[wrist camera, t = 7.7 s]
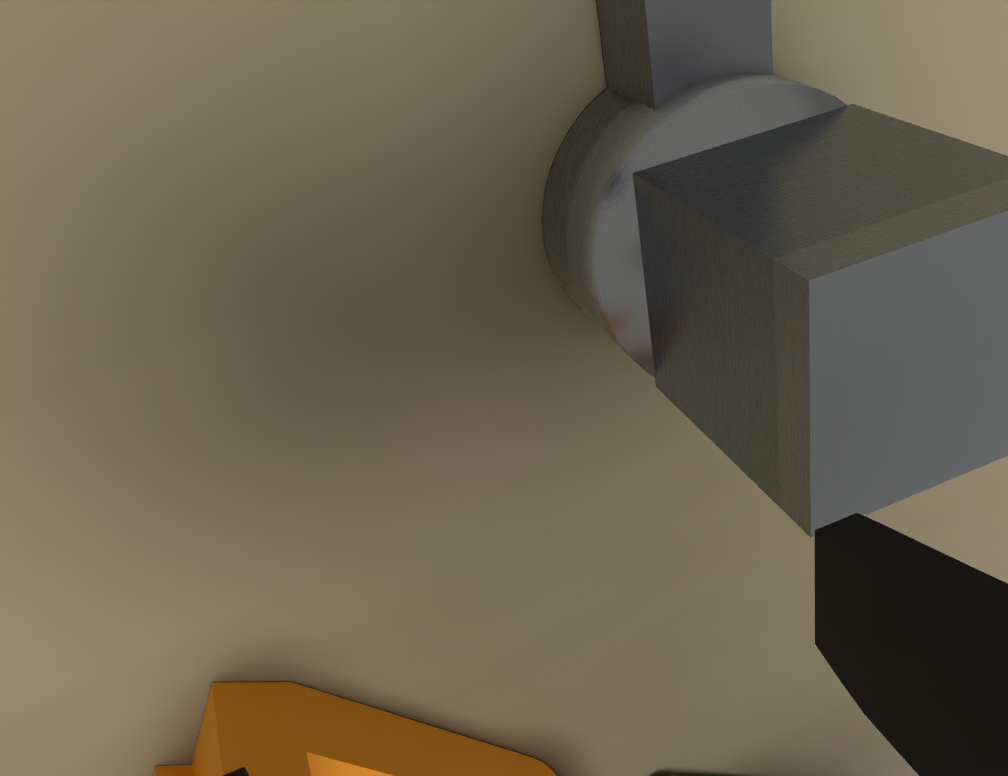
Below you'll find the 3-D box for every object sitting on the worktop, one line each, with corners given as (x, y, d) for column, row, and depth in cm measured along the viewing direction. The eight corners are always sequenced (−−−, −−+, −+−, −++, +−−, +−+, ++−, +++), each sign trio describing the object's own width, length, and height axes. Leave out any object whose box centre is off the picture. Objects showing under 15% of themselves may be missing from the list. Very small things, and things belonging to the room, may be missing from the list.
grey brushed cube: (848, 316, 19) (1045, 440, 15) (655, 386, 19) (810, 537, 14) (852, 103, 17) (1086, 182, 13) (631, 173, 16) (809, 281, 12)
